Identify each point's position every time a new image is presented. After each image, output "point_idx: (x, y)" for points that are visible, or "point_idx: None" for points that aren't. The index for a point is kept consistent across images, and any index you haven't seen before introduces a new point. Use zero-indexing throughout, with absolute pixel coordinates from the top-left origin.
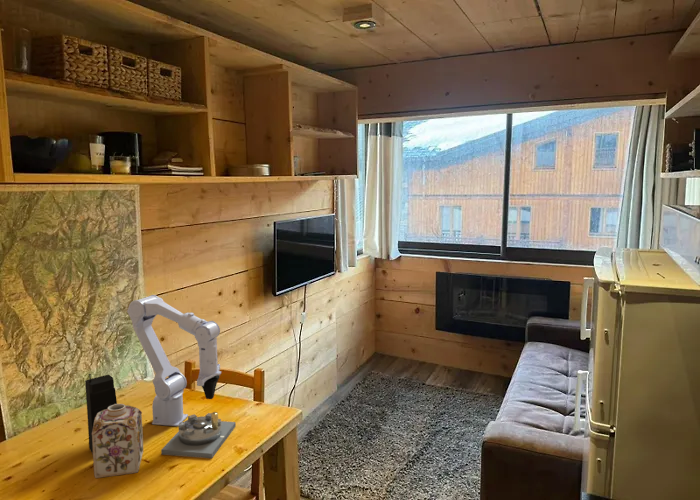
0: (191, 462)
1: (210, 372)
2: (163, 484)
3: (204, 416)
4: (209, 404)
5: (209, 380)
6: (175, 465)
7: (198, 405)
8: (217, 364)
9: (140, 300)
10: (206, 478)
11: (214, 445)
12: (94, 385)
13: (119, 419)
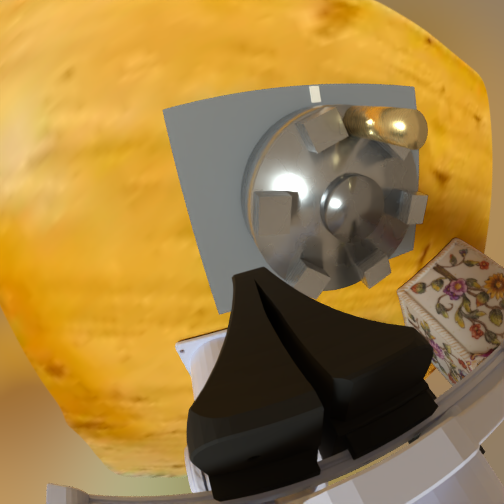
0: (426, 139)
1: (490, 469)
2: (478, 159)
3: (260, 247)
4: (70, 334)
5: (414, 396)
6: (438, 174)
7: (98, 358)
8: None
9: None
10: (457, 73)
11: (377, 97)
12: (482, 451)
13: None
